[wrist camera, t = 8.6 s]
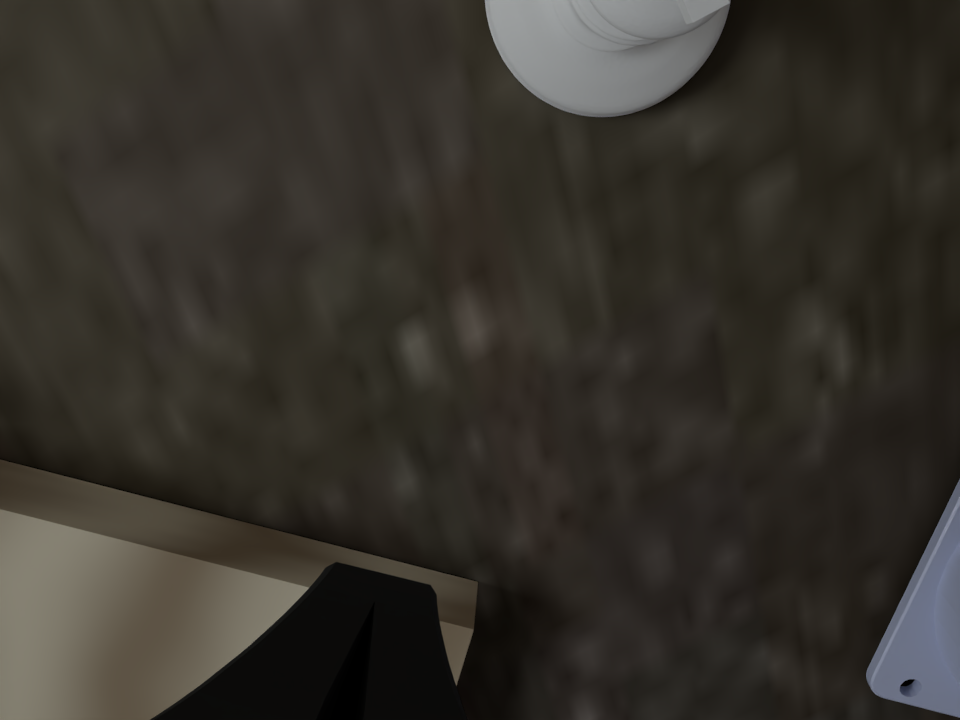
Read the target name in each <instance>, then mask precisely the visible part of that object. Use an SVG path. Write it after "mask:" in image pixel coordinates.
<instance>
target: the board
mask: <svg viewBox="0 0 960 720" xmlns="http://www.w3.org/2000/svg"><path fill="white" fill-rule="evenodd" d="M335 562H339V563H343V564H348V565H352V566H356V567H360V568H364V569H368V570H372V571H376V572H380V573H384V574H388V575H393V576H397V577H401V578H405V579H409V580H413V581H417V582H421V583H425V584H429V585H431V586H432V588H433V589H434V591H435V593H436V594H437V606H438V615H439V621H440V626H441V631H442V636H443V640H444V645H445V649H446V653H447V657H448V661H449V664H450V668H451V671H452V674H453V678H454V681H455V684H456V686H457V682H458V679H459V676H460V673H461V669H462V666H463V663H464V660H465V656H466V653H467V650H468V647H469V643H470V640H471V637H472V634H473V631H474V622H475V611H476V600H477V589H478V582H476V581H472V580H469V579H465V578H461V577H457V576H453V575H449V574H445V573H441V572H437V571H433V570H429V569H426V568H422V567H418V566H414V565H410V564H406V563H402V562H398V561H394V560H390V559H387V558H383V557H379V556H375V555H371V554H367V553H363V552H359V551H355V550H351V549H347V548H344V547H340V546H336V545H332V544H328V543H324V542H320V541H316V540H312V539H308V538H305V537H301V536H297V535H293V534H289V533H285V532H281V531H277V530H273V529H269V528H265V527H262V526H258V525H254V524H250V523H246V522H242V521H238V520H234V519H230V518H226V517H223V516H219V515H215V514H211V513H207V512H203V511H199V510H195V509H191V508H187V507H183V506H180V505H176V504H172V503H168V502H164V501H160V500H156V499H152V498H148V497H144V496H141V495H137V494H133V493H129V492H125V491H121V490H117V489H113V488H109V487H105V486H101V485H98V484H94V483H90V482H86V481H82V480H78V479H74V478H70V477H66V476H62V475H58V474H55V473H51V472H47V471H43V470H39V469H35V468H31V467H27V466H23V465H19V464H16V463H12V462H8V461H4V460H0V720H150V719H152V718H153V717H155V716H156V715H158V714H159V713H161V712H163V711H164V710H166V709H167V708H169V707H170V706H171V705H173V704H174V703H176V702H177V701H179V700H180V699H182V698H183V697H184V696H186V695H187V694H189V693H190V692H191V691H193V690H194V689H196V688H197V687H198V686H200V685H201V684H202V683H204V682H205V681H206V680H207V679H209V678H210V677H211V676H212V675H214V674H215V673H216V672H217V671H219V670H220V669H221V668H223V667H224V666H225V665H226V664H228V663H229V662H230V661H231V660H233V659H234V658H235V657H236V656H238V655H239V654H240V653H241V652H243V651H244V650H245V649H246V648H247V647H248V646H250V645H251V644H252V643H253V642H254V641H255V640H256V639H257V638H258V637H260V636H261V635H262V634H263V633H264V632H265V631H266V630H267V629H268V628H269V627H270V626H272V625H273V624H274V623H275V622H276V621H277V620H278V619H279V618H280V617H281V616H282V615H283V614H285V613H286V612H287V610H288V609H289V608H290V607H291V606H292V605H293V604H294V603H295V602H296V601H297V600H298V599H299V598H300V597H301V596H302V595H303V594H304V593H305V592H306V591H307V590H308V589H309V587H310V586H311V585H312V584H313V583H314V582H315V580H316V579H317V578H318V577H319V576H320V574H321V573H322V572H323V570H324V569H325V568H326V567H327V566H329V565H331V564H333V563H335Z"/></svg>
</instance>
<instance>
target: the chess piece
mask: <svg viewBox="0 0 960 720" xmlns="http://www.w3.org/2000/svg"><path fill="white" fill-rule="evenodd" d="M730 2H731V0H485V6H486V14H487V19H488V24H489V28H490V31H491V35H492V37H493V40H494V43H495V45H496V47H497V49H498V51H499V53H500V55H501V57H502V59H503V61H504V62H505V64H506V65H507V67H508V68H509V70H510V71H511V72H512V74H513V75H514V76H515V77H516V78H517V79H518V81H519V82H520V83H521V84H522V85H523V86H524V87H526V88H527V89H528V90H529V91H530V92H532V93H533V94H534V95H535V96H537V97H538V98H540V99H541V100H543V101H545V102H546V103H548V104H550V105H552V106H554V107H556V108H559V109H561V110H564V111H567V112H570V113H573V114H578V115H583V116H590V117H614V116H621V115H626V114H631V113H634V112H638V111H641V110H644V109H646V108H648V107H651V106H653V105H655V104H657V103H659V102H661V101H663V100H664V99H666V98H667V97H669V96H670V95H672V94H673V93H675V92H676V91H677V90H678V89H680V88H681V87H682V86H683V85H684V84H685V83H687V82H688V81H689V80H690V79H691V78H692V77H693V76H694V74H695V73H696V72H697V71H698V70H699V69H700V68H701V66H702V65H703V64H704V62H705V61H706V60H707V58H708V57H709V55H710V54H711V52H712V51H713V49H714V47H715V45H716V43H717V41H718V39H719V37H720V35H721V33H722V30H723V28H724V25H725V22H726V19H727V15H728V11H729V7H730Z"/></svg>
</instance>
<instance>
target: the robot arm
mask: <svg viewBox="0 0 960 720" xmlns="http://www.w3.org/2000/svg"><path fill="white" fill-rule="evenodd" d="M866 678H867V682H868V684H869V686H870V688H871V689H872V691H873V692H874V693H875V694H876V695H878V696H880V697H882V698H885V699H889V700H893V701H897V702H901V703H905V704H909V705H912V706H916V707H920V708H924V709H928V710H932V711H936V712H940V713H944V714H948V715H952V716H956V717H959V718H960V479H959V481H958V483H957V485H956V488H955V490H954V492H953V494H952V496H951V498H950V500H949V502H948V504H947V506H946V508H945V510H944V512H943V514H942V516H941V518H940V521H939V523H938V525H937V527H936V529H935V531H934V533H933V535H932V537H931V539H930V541H929V543H928V545H927V547H926V549H925V551H924V554H923V556H922V558H921V560H920V562H919V564H918V566H917V568H916V570H915V572H914V574H913V576H912V578H911V580H910V582H909V584H908V587H907V589H906V591H905V593H904V595H903V597H902V599H901V601H900V603H899V605H898V607H897V609H896V611H895V613H894V615H893V617H892V620H891V622H890V624H889V626H888V628H887V630H886V632H885V634H884V636H883V638H882V640H881V642H880V644H879V646H878V648H877V651H876V653H875V655H874V657H873V659H872V661H871V663H870V665H869V667H868V669H867V673H866ZM909 679H915V680H914V681H913V683H912V684H910V685H908V686H900V685H901V684H902V683H903V682H904V681H906V680H909ZM150 720H467V717H466V714H465V712H464V709H463V706H462V703H461V700H460V697H459V693H458V690H457V687H456V684H455V681H454V678H453V674H452V671H451V668H450V664H449V661H448V657H447V653H446V649H445V645H444V640H443V636H442V631H441V626H440V621H439V615H438V606H437V594H436V593H435V591H434V589H433V588H432V586H431V585H429V584H425V583H421V582H417V581H413V580H409V579H405V578H401V577H397V576H393V575H388V574H384V573H380V572H376V571H372V570H368V569H364V568H360V567H356V566H352V565H348V564H343V563H339V562H335V563H333V564H331V565H329V566H327V567H326V568H325V569H324V570H323V572H322V573H321V574H320V576H319V577H318V578H317V579H316V580H315V582H314V583H313V584H312V585H311V586H310V587H309V589H308V590H307V591H306V592H305V593H304V594H303V595H302V596H301V597H300V598H299V599H298V600H297V601H296V602H295V603H294V604H293V605H292V606H291V607H290V608H289V609H288V610H287V612H286V613H285V614H283V615H282V616H281V617H280V618H279V619H278V620H277V621H276V622H275V623H274V624H273V625H272V626H270V627H269V628H268V629H267V630H266V631H265V632H264V633H263V634H262V635H261V636H260V637H258V638H257V639H256V640H255V641H254V642H253V643H252V644H251V645H250V646H248V647H247V648H246V649H245V650H244V651H243V652H241V653H240V654H239V655H238V656H236V657H235V658H234V659H233V660H231V661H230V662H229V663H228V664H226V665H225V666H224V667H223V668H221V669H220V670H219V671H217V672H216V673H215V674H214V675H212V676H211V677H210V678H209V679H207V680H206V681H205V682H204V683H202V684H201V685H200V686H198V687H197V688H196V689H194V690H193V691H191V692H190V693H189V694H187V695H186V696H184V697H183V698H182V699H180V700H179V701H177V702H176V703H174V704H173V705H171V706H170V707H169V708H167V709H166V710H164V711H163V712H161V713H159V714H158V715H156V716H155V717H153V718H152V719H150Z"/></svg>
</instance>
